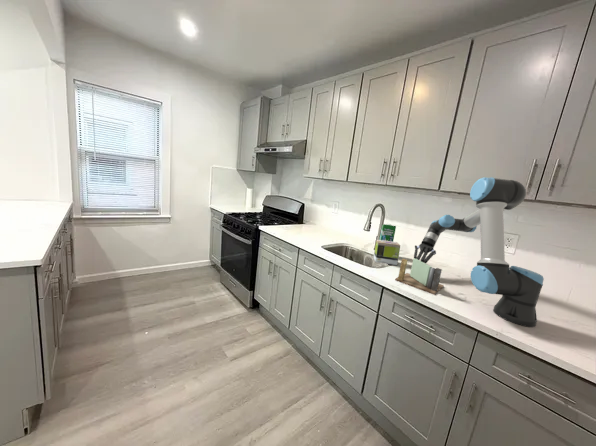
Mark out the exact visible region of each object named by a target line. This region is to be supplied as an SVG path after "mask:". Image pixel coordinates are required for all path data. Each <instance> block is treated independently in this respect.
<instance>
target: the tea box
mask: <svg viewBox="0 0 596 446" xmlns="http://www.w3.org/2000/svg"><path fill="white" fill-rule="evenodd" d="M374 246H375V247H374V253H373V260H374V262H375V263H380V264H387V265H393V266H398V262H399V256H400V249H401V245H400V243H399V242H397V241H393V242H391V241H384V240H379V239H376V241H375V245H374Z"/></svg>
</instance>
